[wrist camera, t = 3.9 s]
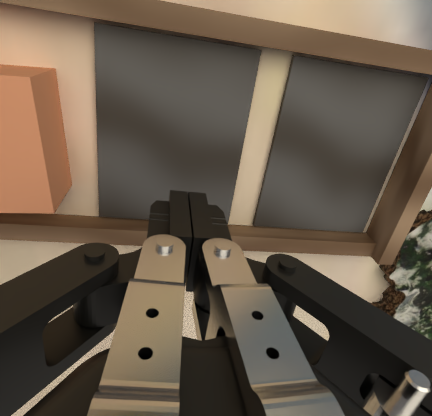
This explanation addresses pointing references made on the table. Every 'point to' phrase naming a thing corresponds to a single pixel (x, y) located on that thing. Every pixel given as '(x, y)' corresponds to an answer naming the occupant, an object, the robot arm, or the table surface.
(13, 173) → the block
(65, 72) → the table surface
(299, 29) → the lane
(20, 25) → the table surface
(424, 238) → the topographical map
